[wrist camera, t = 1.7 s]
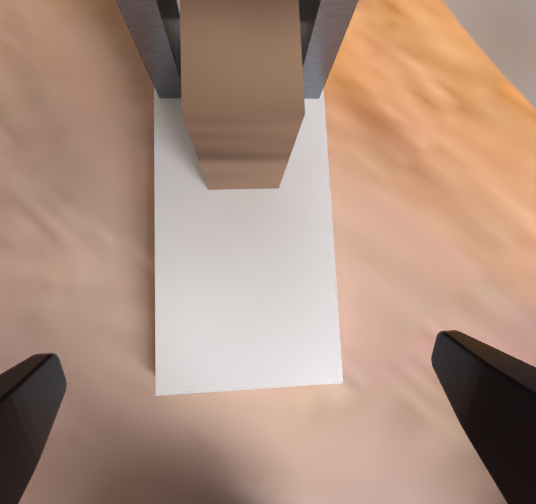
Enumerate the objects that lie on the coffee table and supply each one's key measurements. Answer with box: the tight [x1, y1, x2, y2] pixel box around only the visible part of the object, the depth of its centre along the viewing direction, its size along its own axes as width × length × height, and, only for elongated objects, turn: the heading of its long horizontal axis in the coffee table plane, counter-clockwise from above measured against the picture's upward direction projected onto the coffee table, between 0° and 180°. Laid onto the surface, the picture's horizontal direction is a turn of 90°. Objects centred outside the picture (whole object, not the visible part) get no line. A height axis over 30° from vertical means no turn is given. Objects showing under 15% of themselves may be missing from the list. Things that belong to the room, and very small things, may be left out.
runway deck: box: [154, 0, 343, 396], centre depth 20 cm, size 28×10×2 cm, turn 2°
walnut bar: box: [180, 0, 305, 190], centre depth 15 cm, size 10×4×8 cm, turn 2°
